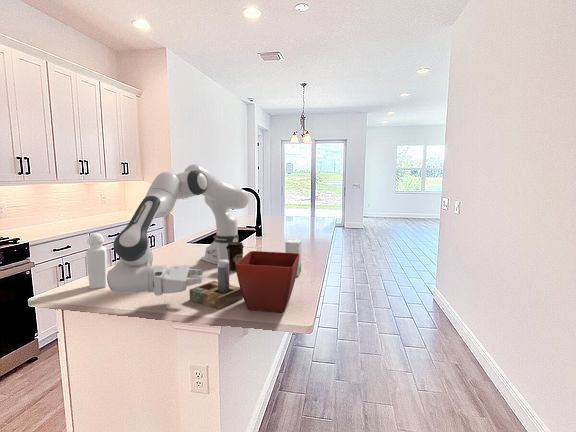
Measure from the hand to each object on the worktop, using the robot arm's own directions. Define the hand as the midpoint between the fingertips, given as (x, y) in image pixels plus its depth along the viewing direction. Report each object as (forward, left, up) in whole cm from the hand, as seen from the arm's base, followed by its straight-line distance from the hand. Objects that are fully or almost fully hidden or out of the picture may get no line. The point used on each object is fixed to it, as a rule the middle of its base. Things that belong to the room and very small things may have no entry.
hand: (202, 276), depth 113 cm
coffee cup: (-20, +39, -10) cm, 45 cm away
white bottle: (-49, -11, -10) cm, 51 cm away
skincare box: (+7, +49, -10) cm, 50 cm away
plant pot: (+20, +13, -10) cm, 26 cm away
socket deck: (+1, +6, -10) cm, 12 cm away
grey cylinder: (+5, +6, -9) cm, 12 cm away
